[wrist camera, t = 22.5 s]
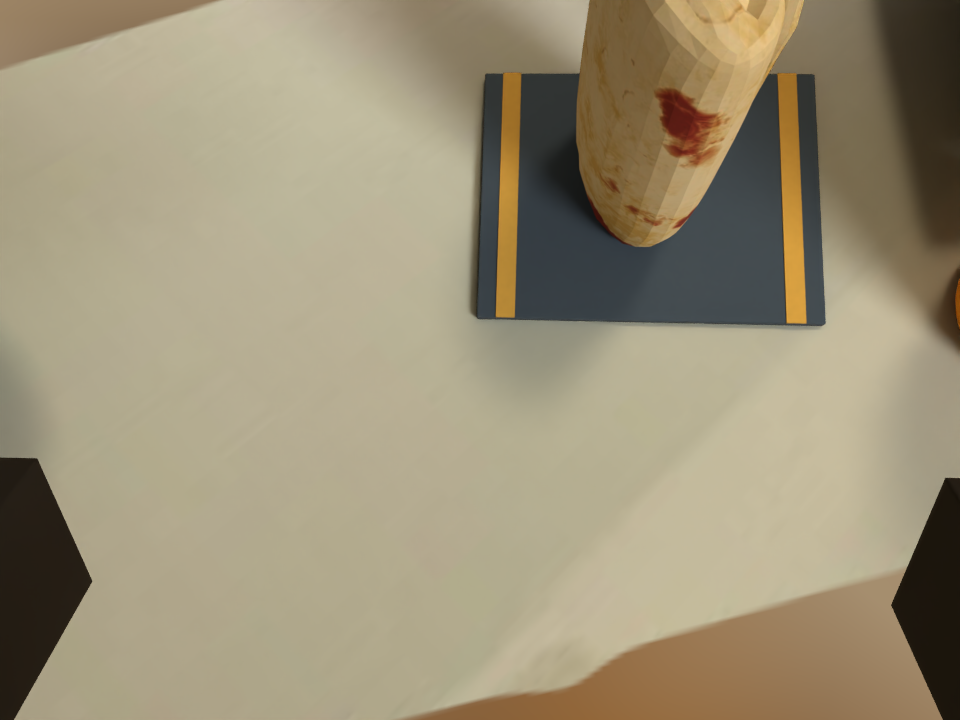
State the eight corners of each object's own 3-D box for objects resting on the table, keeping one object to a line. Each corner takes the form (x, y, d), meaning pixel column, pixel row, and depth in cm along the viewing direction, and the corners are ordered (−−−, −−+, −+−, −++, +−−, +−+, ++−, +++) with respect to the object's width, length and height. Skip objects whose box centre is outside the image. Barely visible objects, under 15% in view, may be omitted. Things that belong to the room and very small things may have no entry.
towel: (477, 319, 42) (476, 316, 42) (485, 77, 45) (485, 72, 44) (822, 326, 41) (826, 323, 41) (811, 78, 44) (815, 73, 43)
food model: (546, 119, 44) (564, -196, 24) (664, 89, 44) (779, -251, 24) (593, 285, 42) (654, 91, 22) (716, 255, 42) (887, 33, 22)
